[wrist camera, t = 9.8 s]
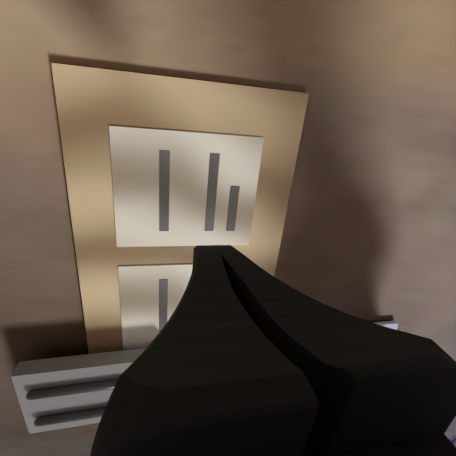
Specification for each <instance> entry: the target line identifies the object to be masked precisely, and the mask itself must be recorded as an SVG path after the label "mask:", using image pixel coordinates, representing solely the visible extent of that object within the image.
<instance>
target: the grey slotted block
mask: <svg viewBox="0 0 456 456" xmlns="http://www.w3.org/2000/svg"><path fill="white" fill-rule="evenodd" d="M145 349H146V348H141V349H131V350H122V351H113V352H103V353H94V354H85V355H76V356H66V357H57V358H48V359H39V360H29V361H20V362H18V364H17V366H16V368H15V370H14V372H13V374H12V376H11V378H12V381H13V384H14V387H15V391H16V394H17V397H18V400H19V403H20V406H21V409H22V412H23V415H24V419H25V422H26V425H27V428H28V431H29V434H30V433H37V432H43V431H49V430H56V429H62V428H68V427H75V426H81V425H87V424H94V423H100V420H101V417H102V415H103V412H104V410H105V407H106V405H107V403H108V400H109V398H110V396H111V393H112V391H113V389H114V387H115V385H116V382H117V380H118V378H119V376H120V375H121V374H122V373H123V372H124V371H125V370H126V369H127V368H128V367H129V366H130V365H131V364H132V363H133V362H134V361H135V360H136V359H137V358H138V357H139V356H140V355H141V354H142V353H143V352H144V351H145Z"/></svg>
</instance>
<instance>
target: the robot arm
mask: <svg viewBox="0 0 456 456" xmlns="http://www.w3.org/2000/svg"><path fill="white" fill-rule="evenodd" d="M397 327H398V324H397V323H396V322H395V321H384V322H373V323H372V322H369V321H366V320H363V319H360V318H357V317H355V316H352V315H349V314H347V313H344V312H341V311H339V310H337V309H334V308H332V307H330V306H327V305H325V304H323V303H321V302H318V301H316V300H314V299H312V298H310V297H308V296H306V295H304V294H303V293H301V292H299V291H297V290H295V289H293V288H291V287H290V286H288V285H286V284H285V283H283V282H282V281H280V280H278V279H277V278H275V277H274V276H272V275H271V274H269V273H268V272H266V271H265V270H264V269H262V268H261V267H259V266H258V265H257V264H255V263H254V262H253V261H251V260H250V259H249V258H247V257H246V256H245V255H243V254H242V253H241V252H239V251H238V250H237V249H235V248H234V247H233V246H231V245H197V246H196V247H195V248H194V250H193V268H192V274H191V277H190V280H189V282H188V285H187V287H186V290H185V292H184V294H183V296H182V298H181V300H180V302H179V304H178V306H177V307H176V309H175V311H174V312H173V314H172V315H171V317H170V319H169V320H168V322H167V323H166V325H165V326H164V327H163V329H162V330H161V331H160V332H159V334H158V335H157V336H156V337H155V339H154V340H153V341H152V342H151V344H150V345H149V346H148V347H147V348H146V349H145V351H144V352H143V353H142V354H141V355H140V356H139V357H138V358H137V359H136V360H135V361H134V362H133V363H132V364H131V365H130V366H129V367H128V368H127V369H126V370H125V371H124V372H123V373H122V374H121V375H120V376H119V378H118V380H117V382H116V385H115V387H114V389H113V391H112V393H111V396H110V398H109V400H108V403H107V405H106V407H105V410H104V412H103V415H102V417H101V420H100V423H99V426H98V429H97V432H96V435H95V439H94V442H93V446H92V450H91V455H90V456H456V362H455V361H454V360H453V359H452V358H451V357H450V356H449V355H448V354H447V353H446V352H445V351H444V350H442V349H441V348H440V347H439V346H438V345H437V344H436V343H435V342H434V341H433V340H431V339H428V338H425V337H421V336H417V335H413V334H410V333H406V332H402V331H399V330H397Z"/></svg>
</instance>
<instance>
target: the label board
mask: <svg viewBox="0 0 456 456" xmlns="http://www.w3.org/2000/svg"><path fill="white" fill-rule="evenodd" d="M51 65H52V73H53V81H54V89H55V96H56V104H57V112H58V119H59V127H60V135H61V143H62V150H63V158H64V166H65V173H66V181H67V189H68V197H69V204H70V212H71V220H72V228H73V235H74V243H75V251H76V258H77V266H78V274H79V282H80V289H81V297H82V305H83V313H84V320H85V328H86V336H87V343H88V351H89V354H94V353H103V352H113V351H122V350H131V349H141V348H147V347H148V346H149V345H150V344H151V342H152V341H153V340H154V339H155V337H156V336H157V335H158V334H159V332H160V331H161V330H162V329H163V327H164V326H165V325H166V323H167V322H168V320H169V319H170V317H171V315H172V314H173V312H174V311H175V309H176V307H177V306H178V304H179V302H180V300H181V298H182V296H183V294H184V292H185V290H186V287H187V285H188V282H189V280H190V277H191V274H192V268H193V250H194V248H195V247H196V246H197V245H231V246H233V247H234V248H235V249H237V250H238V251H239V252H241V253H242V254H243V255H245V256H246V257H247V258H249V259H250V260H251V261H253V262H254V263H255V264H257V265H258V266H259V267H261V268H262V269H264V270H265V271H266V272H268V273H269V274H271V275H272V276H274V275H275V270H276V265H277V260H278V254H279V249H280V244H281V239H282V233H283V228H284V223H285V218H286V212H287V207H288V202H289V197H290V191H291V186H292V181H293V176H294V170H295V165H296V160H297V155H298V149H299V144H300V139H301V134H302V128H303V123H304V118H305V113H306V107H307V102H308V97H309V93H302V92H293V91H285V90H276V89H268V88H260V87H251V86H243V85H234V84H226V83H217V82H209V81H201V80H192V79H184V78H175V77H167V76H159V75H150V74H142V73H133V72H125V71H117V70H108V69H100V68H91V67H83V66H75V65H66V64H58V63H51Z"/></svg>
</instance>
